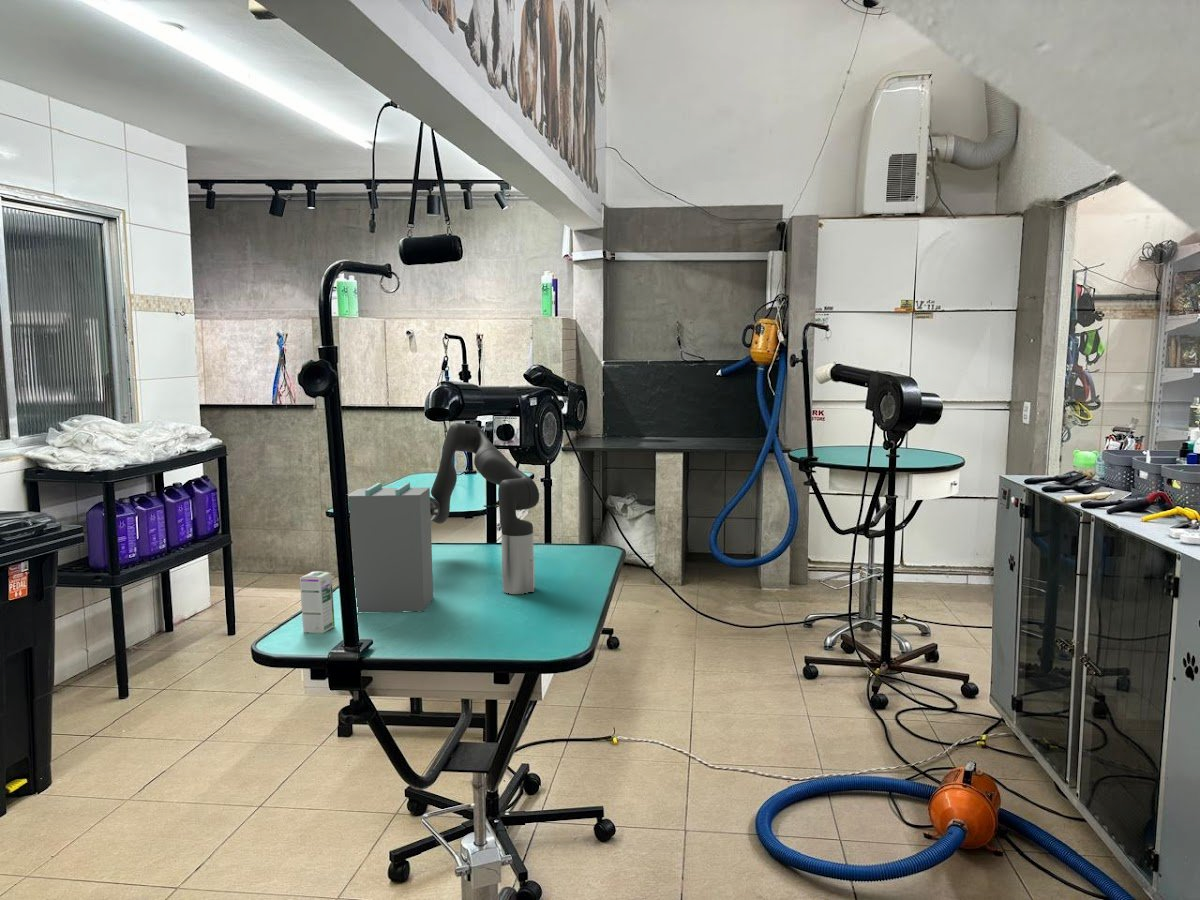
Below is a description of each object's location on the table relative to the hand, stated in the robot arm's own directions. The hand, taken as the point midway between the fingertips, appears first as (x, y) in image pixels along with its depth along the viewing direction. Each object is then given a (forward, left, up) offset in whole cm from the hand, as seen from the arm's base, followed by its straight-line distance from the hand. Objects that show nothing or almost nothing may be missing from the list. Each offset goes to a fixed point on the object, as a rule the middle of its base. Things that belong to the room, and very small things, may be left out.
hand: (410, 512), depth 260 cm
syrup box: (+14, +47, -22) cm, 54 cm away
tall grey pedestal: (0, +26, -22) cm, 34 cm away
